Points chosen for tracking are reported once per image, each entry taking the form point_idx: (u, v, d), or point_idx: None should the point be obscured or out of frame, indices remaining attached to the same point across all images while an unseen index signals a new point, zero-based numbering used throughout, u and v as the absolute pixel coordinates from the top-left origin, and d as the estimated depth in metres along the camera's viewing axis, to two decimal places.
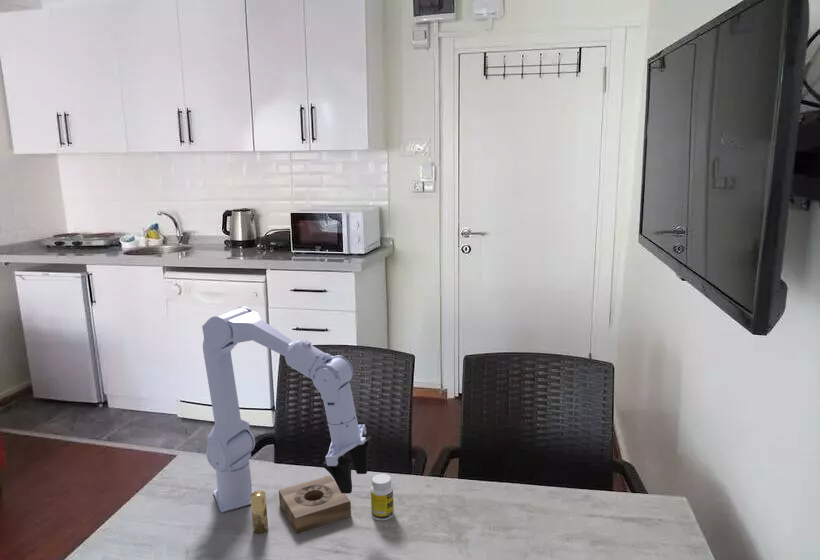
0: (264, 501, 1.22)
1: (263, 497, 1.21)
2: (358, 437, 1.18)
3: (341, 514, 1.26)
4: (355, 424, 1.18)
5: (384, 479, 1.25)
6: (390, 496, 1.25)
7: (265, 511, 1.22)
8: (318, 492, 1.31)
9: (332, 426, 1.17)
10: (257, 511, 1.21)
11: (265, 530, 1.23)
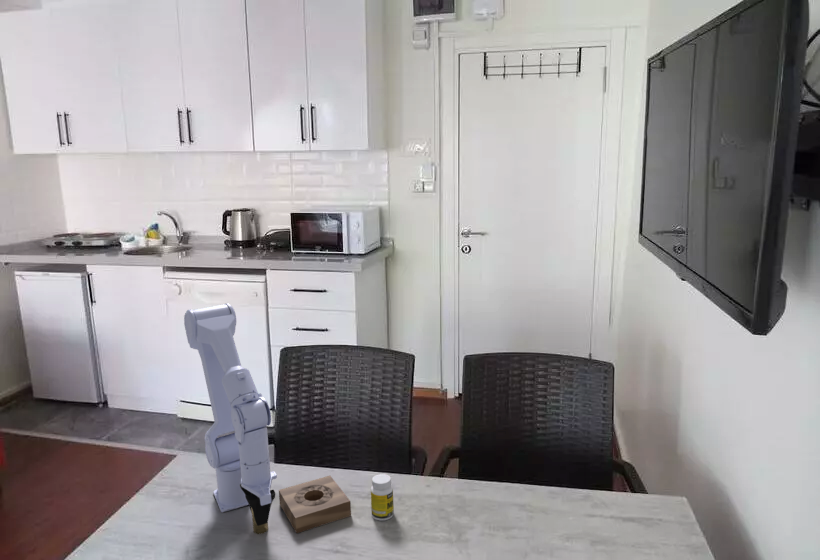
0: None
1: None
2: None
3: (341, 514, 1.26)
4: None
5: (384, 479, 1.25)
6: (390, 496, 1.25)
7: None
8: (318, 492, 1.31)
9: (253, 467, 1.18)
10: None
11: (265, 530, 1.23)
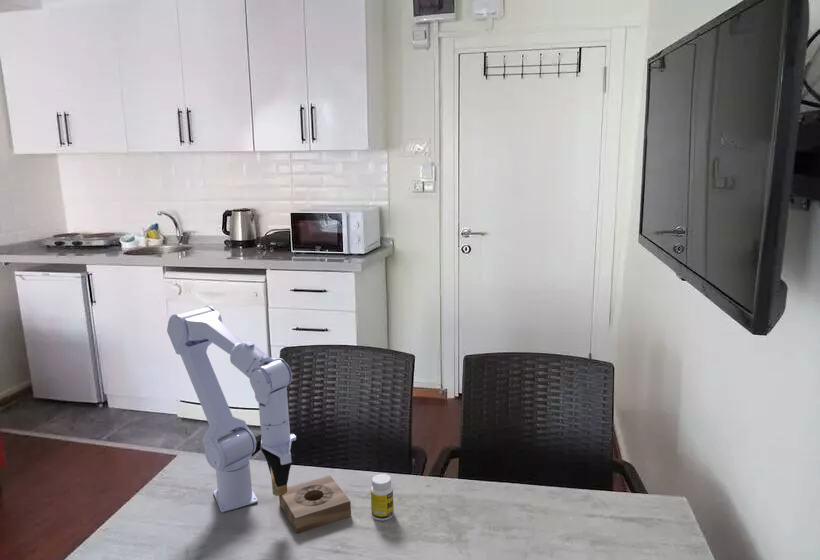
0: None
1: None
2: None
3: (341, 514, 1.26)
4: None
5: (384, 479, 1.25)
6: (390, 496, 1.25)
7: None
8: (318, 492, 1.31)
9: (273, 427, 1.19)
10: None
11: (284, 492, 1.24)
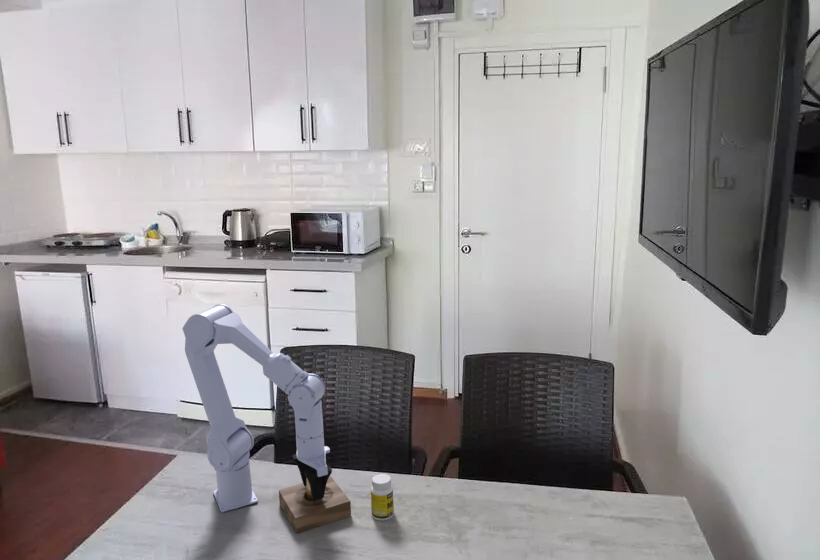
0: None
1: None
2: None
3: (341, 514, 1.26)
4: None
5: (384, 479, 1.25)
6: (390, 496, 1.25)
7: None
8: None
9: (310, 440, 1.24)
10: None
11: None
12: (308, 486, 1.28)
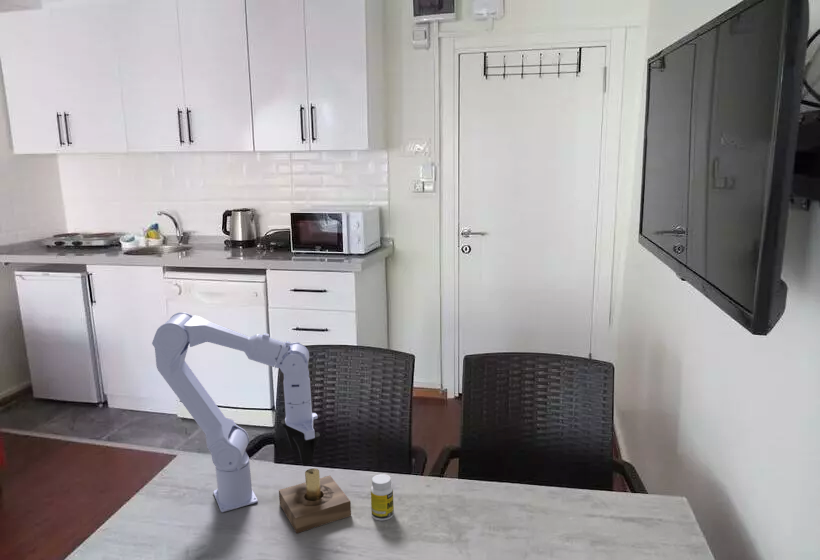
0: (318, 478, 1.28)
1: (317, 474, 1.28)
2: None
3: (341, 514, 1.26)
4: None
5: (384, 479, 1.25)
6: (390, 496, 1.25)
7: (319, 488, 1.28)
8: None
9: (298, 406, 1.29)
10: (312, 488, 1.27)
11: None
12: (307, 486, 1.28)
